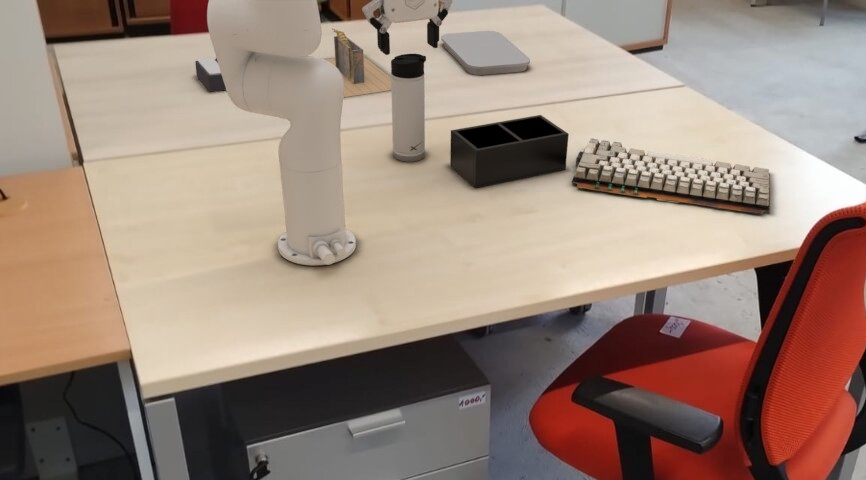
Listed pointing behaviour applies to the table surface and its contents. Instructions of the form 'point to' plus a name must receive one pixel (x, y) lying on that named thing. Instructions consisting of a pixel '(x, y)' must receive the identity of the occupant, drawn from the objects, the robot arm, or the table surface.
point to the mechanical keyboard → (672, 178)
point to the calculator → (210, 74)
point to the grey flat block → (485, 52)
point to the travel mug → (408, 107)
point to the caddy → (508, 150)
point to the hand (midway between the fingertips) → (408, 49)
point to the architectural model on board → (357, 68)
